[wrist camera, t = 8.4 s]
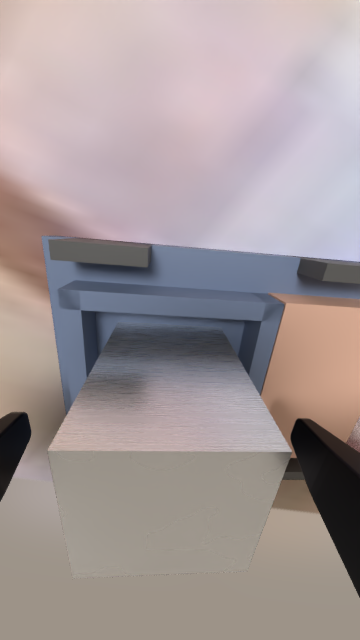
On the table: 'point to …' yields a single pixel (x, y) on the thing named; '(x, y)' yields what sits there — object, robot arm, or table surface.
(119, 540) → the grey rectangular block
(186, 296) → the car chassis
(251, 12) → the table surface
